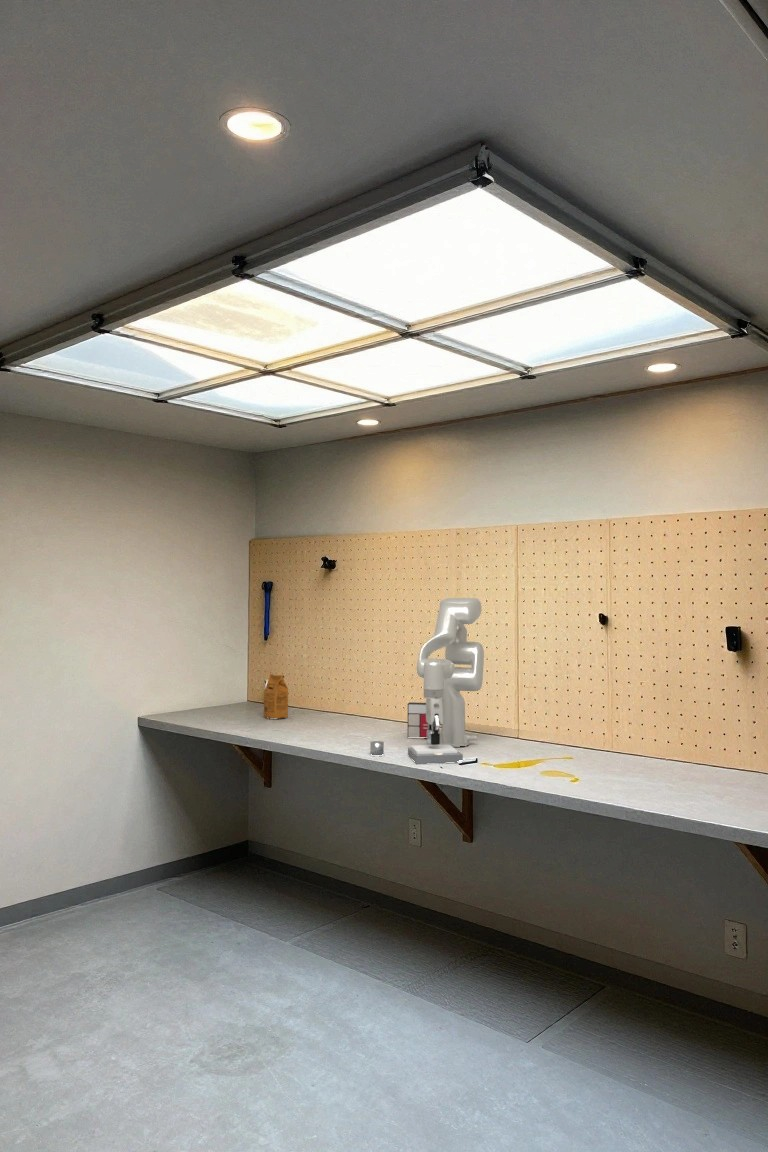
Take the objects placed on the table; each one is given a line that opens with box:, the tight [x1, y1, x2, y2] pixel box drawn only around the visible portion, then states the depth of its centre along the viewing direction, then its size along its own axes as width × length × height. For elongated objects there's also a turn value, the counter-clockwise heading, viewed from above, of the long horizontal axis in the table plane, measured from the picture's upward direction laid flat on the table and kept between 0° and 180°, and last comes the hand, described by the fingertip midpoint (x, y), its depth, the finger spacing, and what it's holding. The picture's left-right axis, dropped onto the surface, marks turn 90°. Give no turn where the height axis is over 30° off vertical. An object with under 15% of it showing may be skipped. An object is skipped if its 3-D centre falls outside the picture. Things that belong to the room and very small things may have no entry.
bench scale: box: [407, 744, 464, 765], centre depth 305 cm, size 17×17×4 cm
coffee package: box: [263, 673, 289, 719], centre depth 413 cm, size 10×12×22 cm
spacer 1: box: [369, 740, 385, 755], centre depth 312 cm, size 5×5×5 cm
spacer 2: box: [426, 729, 439, 745], centre depth 307 cm, size 5×5×5 cm
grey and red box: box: [407, 701, 428, 738], centre depth 352 cm, size 11×4×15 cm, turn 80°
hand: (433, 742), depth 307 cm, fingers closed on spacer 2, 5 cm apart
